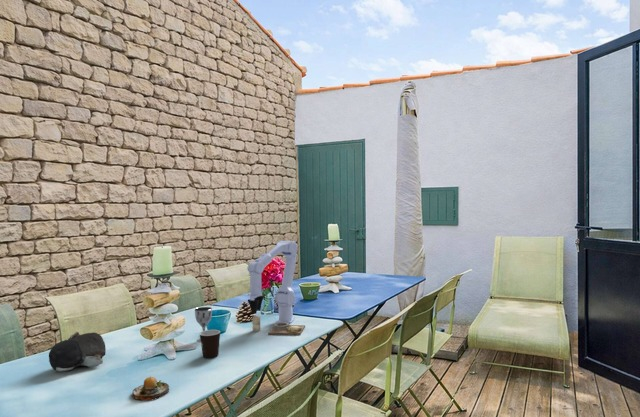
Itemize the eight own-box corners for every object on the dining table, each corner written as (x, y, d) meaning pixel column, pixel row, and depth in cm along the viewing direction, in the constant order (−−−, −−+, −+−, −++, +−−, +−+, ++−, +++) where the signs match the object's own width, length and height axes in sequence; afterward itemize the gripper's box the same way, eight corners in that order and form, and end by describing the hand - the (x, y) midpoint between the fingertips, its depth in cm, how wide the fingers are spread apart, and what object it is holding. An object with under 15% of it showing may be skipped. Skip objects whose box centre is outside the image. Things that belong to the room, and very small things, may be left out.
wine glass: (214, 337, 214) (214, 306, 214) (209, 342, 206) (208, 310, 206) (199, 337, 215) (198, 306, 215) (192, 342, 207) (192, 310, 207)
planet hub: (254, 329, 226) (253, 315, 226) (261, 329, 226) (261, 315, 226) (251, 331, 222) (251, 317, 222) (259, 331, 222) (258, 317, 222)
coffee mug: (218, 359, 183) (217, 335, 183) (197, 359, 183) (196, 335, 183) (224, 350, 195) (224, 327, 194) (205, 350, 195) (204, 328, 195)
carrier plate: (275, 326, 230) (275, 321, 230) (305, 327, 227) (304, 321, 227) (268, 334, 216) (268, 328, 216) (299, 335, 214) (299, 329, 214)
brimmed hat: (173, 386, 157) (172, 365, 157) (162, 400, 145) (162, 378, 145) (139, 387, 157) (139, 366, 157) (126, 402, 145) (125, 379, 145)
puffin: (109, 373, 184) (119, 346, 182) (61, 390, 165) (72, 360, 163) (81, 348, 192) (91, 321, 190) (33, 361, 173) (42, 332, 171)
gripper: (252, 282, 232) (252, 308, 232) (244, 287, 217) (244, 315, 217) (265, 282, 231) (265, 308, 231) (257, 287, 216) (258, 315, 216)
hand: (256, 311), depth 224 cm, fingers open, 7 cm apart
